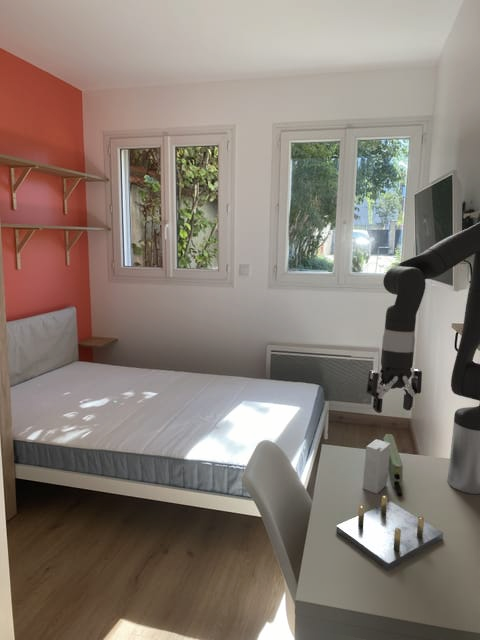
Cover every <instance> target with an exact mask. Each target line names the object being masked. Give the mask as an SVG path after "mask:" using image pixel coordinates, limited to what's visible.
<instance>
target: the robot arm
mask: <svg viewBox="0 0 480 640" xmlns="http://www.w3.org/2000/svg"><path fill="white" fill-rule="evenodd" d="M473 255H474V256H473ZM472 256H473V257H474V258H473V261H472V262H473V264H472V270H471V277H470V283H469V287H468V293H467V298H466V303H465V312H464V319H463V324H462V330H461V336H460V341H459V345H458V349H457V353H456V357H455V360H454V365H453V369H452V372H451V379H450V387H451V392H452V393H453V394H454V395H456V396H460V397H463V398H467V399H471V400H475V401H478V402H480V363H478V362H477V363H476V362H473V361H474V356H475V353H476V351H477V349H478V347H480V210H479V211H478V214H477V219H476V223H475V224H474V225H472V226H469V227H468V228H465V229H464V230H460V231H459V232H457V233H454V234H452V235H449V236H447V237H446V238H444V239H441V240H440V241H438V242H437V243H435V244H433V245H432V246H430V247H429V248H427V249H425V250H424V251H423V252H421V253H420V254H418V255H416V256H413V257H411V258H408V259H405V260H403V261H401V262H399V263H397V264H395V265H394V266H392V267H390V268H389V269H388V270H387V272H385V275H384V277H383V282H382V283H383V287H384V289H385V290H386V291H387V292H388V293H390V294H391V295H395V296H396V297H395V300H394V301H395V302H394V304H393V305H390V306H388V308H387V309H386V313H385V322H384V331H383V335H382V345H381V356H380V365H381V369H380V370H379V371H374V370H369V372H368V378H367V384H366V394H367V395H369V396H371V397H373V398H372V399H373V400H372V409H373V411H374V412H375V413H378V414H380V413H382V411H383V397H384V396H385V394H386V393H388V392H389V391H390V389H391V390H392V389H393V390H394V389H397V388H398V389H402V390H403V392H404V394H403V401H402V402H403V403H402V404H403V405H402V407H403V410H406V411H411V409H412V407H413V402H414V397H415V395H418V394H421V393H422V380H423V379H422V376H423V371H422V370H420V369H418V368H413V364H414V356H415V355H414V354H415V347H416V346H415V345H416V344H415V343H416V337H415V335H416V334H415V333H416V323H417V314H418V311H419V310H420V309H419V308H420V306H421V303H422V300H423V298H424V296H425V295H424V294H425V290H426V280H429V279H436V278H437V277H440V276H441V275H443V274H445V273H446V272H448V271H449V270H451V269H452V268H454V267H455V266H457V265H458V264H460V263H462V262H463V261H465V260H466V259H469V257H472ZM409 380H410V381H409ZM451 435H452V436H451V444H450V452H449V453H450V454H449V462H448V463H449V464H448V470H447V471H448V473H447V483H448V484H449V485H450V486H451V488H454V489H455V490H456V491H457V490H458V491H460V492H462V493H466V494H472V495H480V403H479V404H478V405H477V406H466V407H461V408H458V409H456V410H455V412H454V416H453V426H452V434H451Z"/></svg>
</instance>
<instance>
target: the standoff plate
mask: <svg viewBox="0 0 480 640" xmlns="http://www.w3.org/2000/svg"><path fill="white" fill-rule="evenodd" d="M365 510H366V509H365V505H359V506H358V515H357V516H355V517H353V518H351V519H348V520H346V521H344V522H342V523H339V524H337V525H336V533H337V534H339V536H341V537H343V538H344V539H345V540H347V541H349V542H350V544H352V545H353V546H354V547H356V548H358V549H359V550H360V551H361V552H362V553H364V554H366V555H367V556H368V557H370V558H371V559H372V560H373V561H374V562H376V563H377V564H379V565H380V566H381V567H383V568H384V569H386V570H387V571H390V570H392V569H393V568H394V567H397V566H399V564H402V563H403V562H405V561H407V560H409V559H410V558H412V557H414V556H416V555H418V554H419V553H421V552H423V551H424V550H427V549H428V548H429V547H431V546H433V545H435V544H436V543H439V542H441V541H442V540H444V539H443V538H444V532H443V531H442V530H440V529H438V528H436V527H435V526H432V525H431V524H429V523H427V522H426V521H425V518H424V517H422V516H418V517H417V515H414V514H412V513H411V512H409V511H408V510H405V508H404V509H403V508H402V507H401V506H399V505H397V504H395V503H394V502H392V501H389V502H388V496H387V495H381V504H380V506H377V507H375V508H373V509H371V510H369V511H366V512H365Z"/></svg>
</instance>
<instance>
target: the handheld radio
mask: <svg viewBox="0 0 480 640" xmlns="http://www.w3.org/2000/svg"><path fill="white" fill-rule="evenodd" d="M382 439H383V440H382V441H384V442H387V443H390V444H391V446H390V456H389V467H388V474H389V479H390V482H391V486H392V487H394V488H395V491H396V496H397V497H399V498H402V496H403V491H402V489H401V488H402V486H403V474H404V473H403V469H404V465H403V462H402V459H401V456H400V453H399V450H398V447H397V444H396V441H395V437H394V435H393V434H389V433H385V435H384V437H383V438H382Z"/></svg>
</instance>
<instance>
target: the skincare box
mask: <svg viewBox="0 0 480 640" xmlns="http://www.w3.org/2000/svg"><path fill="white" fill-rule="evenodd" d="M390 446H391V444H390V443H387V442H384V441H383V440H381V439H374V440H373V441H372V442H371V443H369V444H368V445H367V446H365V447H366V448H365V458H364V469H363V478H362V479H363V480H362V488H363V489H364V490H365V491H369V492H370V493H374V494H376V495H377V494H378V493H380V492H381V491H382V490H383V489H384V488H385V487H386V486H387V485H388V474H389V471H388V467H389V456H390Z"/></svg>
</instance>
